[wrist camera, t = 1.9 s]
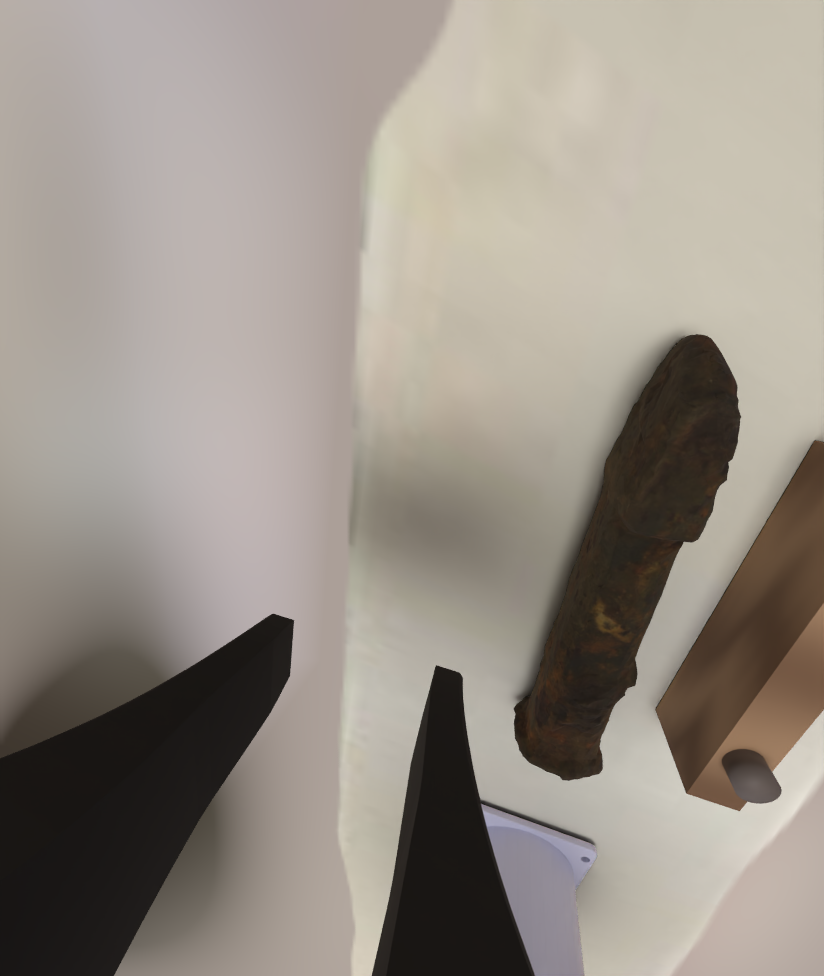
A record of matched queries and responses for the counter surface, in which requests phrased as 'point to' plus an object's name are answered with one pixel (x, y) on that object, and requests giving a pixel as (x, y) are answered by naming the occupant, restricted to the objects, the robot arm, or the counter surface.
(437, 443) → the counter surface
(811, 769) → the counter surface
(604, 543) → the hand tool
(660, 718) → the stop rail
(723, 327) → the counter surface
